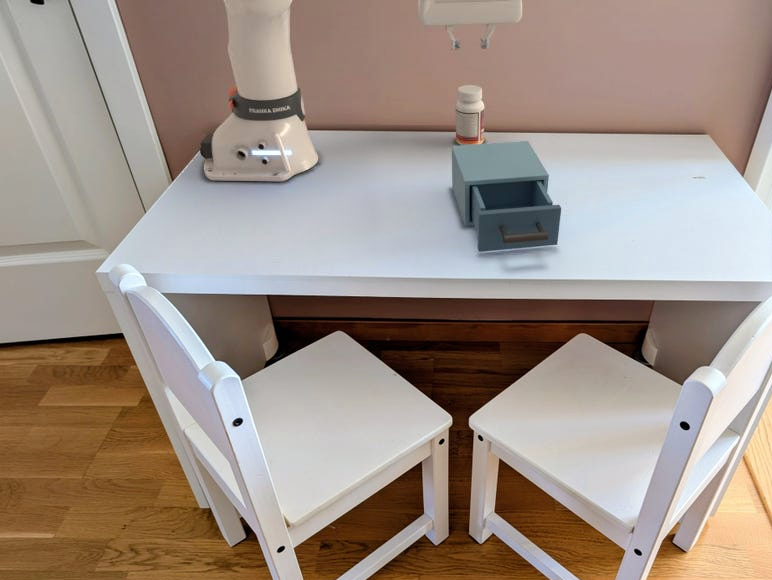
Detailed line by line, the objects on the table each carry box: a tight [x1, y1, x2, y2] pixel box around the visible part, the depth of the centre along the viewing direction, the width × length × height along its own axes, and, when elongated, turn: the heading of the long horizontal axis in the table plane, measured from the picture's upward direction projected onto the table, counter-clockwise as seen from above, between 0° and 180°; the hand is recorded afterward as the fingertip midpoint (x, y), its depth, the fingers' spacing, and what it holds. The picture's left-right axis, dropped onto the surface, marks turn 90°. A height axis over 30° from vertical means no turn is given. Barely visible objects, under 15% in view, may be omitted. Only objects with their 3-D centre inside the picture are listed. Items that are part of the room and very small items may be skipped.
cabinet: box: [451, 140, 550, 228], centre depth 111 cm, size 15×15×9 cm
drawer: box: [469, 180, 562, 253], centre depth 102 cm, size 18×13×7 cm
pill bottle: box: [455, 84, 485, 145], centre depth 131 cm, size 6×6×11 cm
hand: (470, 48), depth 122 cm, fingers open, 5 cm apart
